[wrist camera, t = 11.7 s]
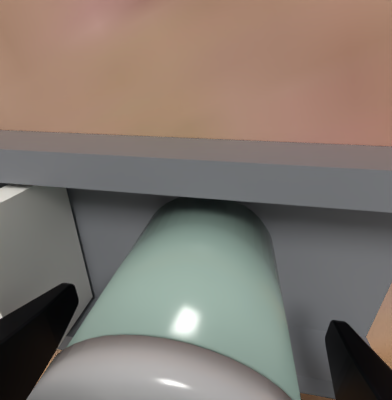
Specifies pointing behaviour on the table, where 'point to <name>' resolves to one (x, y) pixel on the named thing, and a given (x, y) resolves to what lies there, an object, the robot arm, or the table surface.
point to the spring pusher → (38, 247)
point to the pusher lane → (244, 194)
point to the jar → (184, 316)
